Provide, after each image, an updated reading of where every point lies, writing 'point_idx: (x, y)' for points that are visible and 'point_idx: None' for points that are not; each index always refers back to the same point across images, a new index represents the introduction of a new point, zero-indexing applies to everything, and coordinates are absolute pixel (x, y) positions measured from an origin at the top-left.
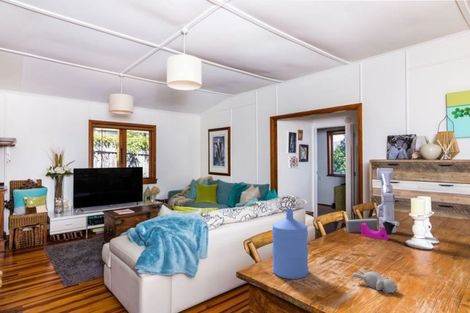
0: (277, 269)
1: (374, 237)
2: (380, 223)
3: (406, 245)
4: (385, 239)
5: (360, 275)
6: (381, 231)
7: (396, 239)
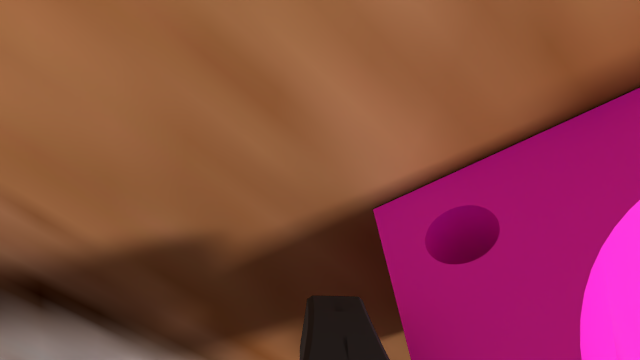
0: None
1: (618, 104)
2: None
3: (23, 290)
4: (397, 207)
5: None
6: (542, 304)
7: None
